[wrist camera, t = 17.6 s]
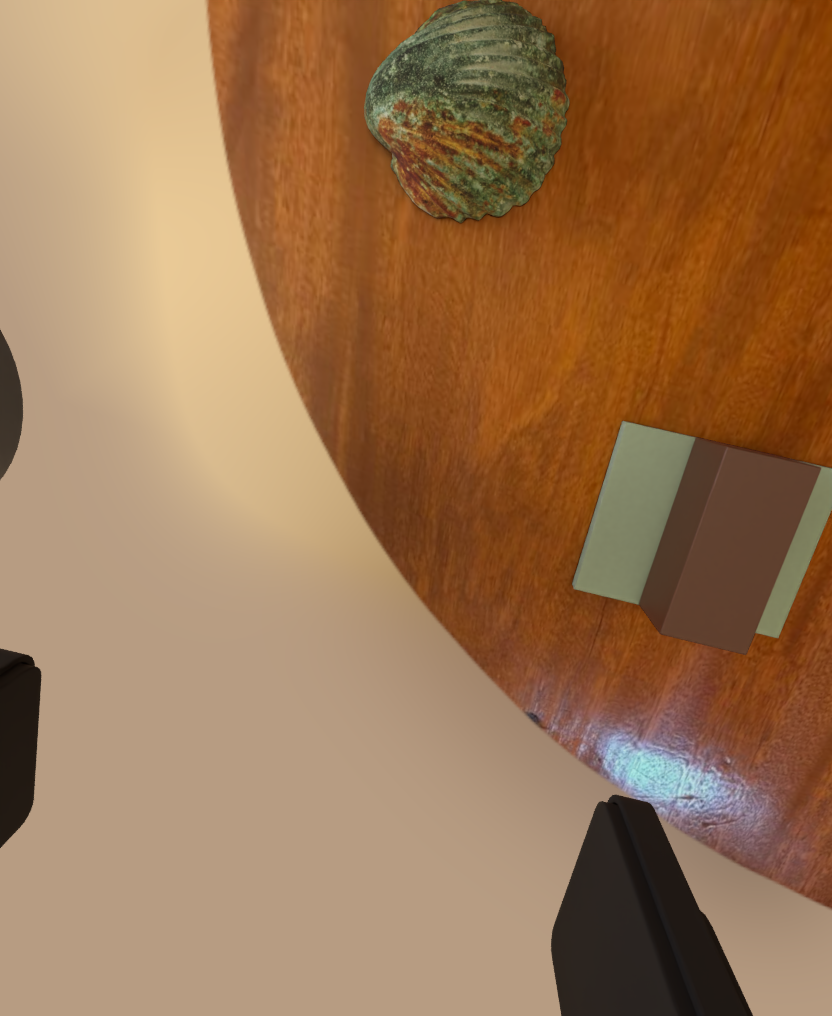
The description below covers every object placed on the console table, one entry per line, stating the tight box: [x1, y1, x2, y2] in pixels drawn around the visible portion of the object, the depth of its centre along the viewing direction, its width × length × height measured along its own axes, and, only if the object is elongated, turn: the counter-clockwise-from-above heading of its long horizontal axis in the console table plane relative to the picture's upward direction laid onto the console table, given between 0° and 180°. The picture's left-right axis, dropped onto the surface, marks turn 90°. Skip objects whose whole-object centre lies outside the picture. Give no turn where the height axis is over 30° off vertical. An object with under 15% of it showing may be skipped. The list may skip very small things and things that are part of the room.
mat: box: [572, 421, 832, 638], centre depth 32 cm, size 12×10×1 cm
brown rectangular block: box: [639, 437, 821, 655], centre depth 30 cm, size 4×10×4 cm, turn 168°
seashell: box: [364, 0, 569, 223], centre depth 27 cm, size 10×4×10 cm
